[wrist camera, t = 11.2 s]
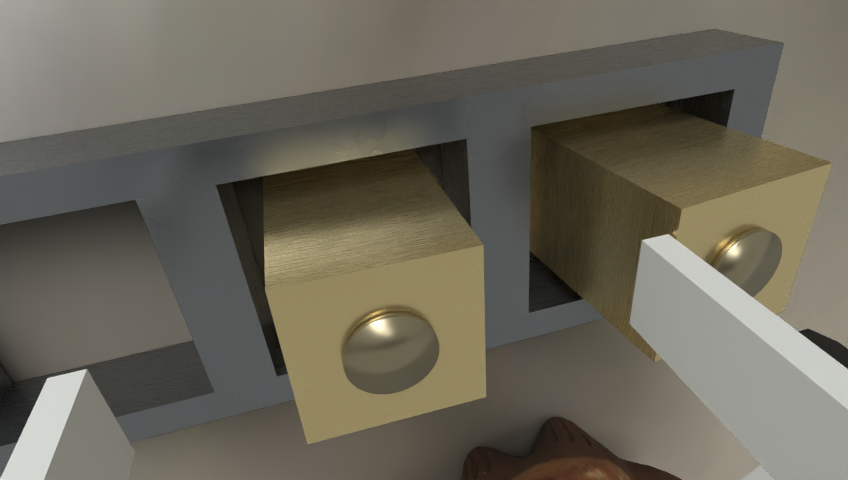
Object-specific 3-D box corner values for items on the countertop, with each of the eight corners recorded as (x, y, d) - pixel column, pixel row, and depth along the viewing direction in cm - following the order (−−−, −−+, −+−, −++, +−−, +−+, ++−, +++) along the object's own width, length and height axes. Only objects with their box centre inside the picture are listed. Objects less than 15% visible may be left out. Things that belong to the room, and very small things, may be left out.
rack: (-201, 175, 14) (-300, 227, 12) (714, 28, 19) (783, 42, 17) (-17, 417, 19) (-60, 492, 16) (675, 250, 24) (724, 287, 21)
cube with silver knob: (262, 171, 17) (265, 297, 11) (410, 146, 18) (487, 250, 12) (292, 295, 20) (308, 452, 14) (421, 267, 21) (489, 403, 15)
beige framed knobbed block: (529, 127, 19) (690, 213, 13) (646, 99, 20) (841, 166, 14) (528, 249, 21) (660, 367, 15) (632, 217, 22) (792, 315, 17)
